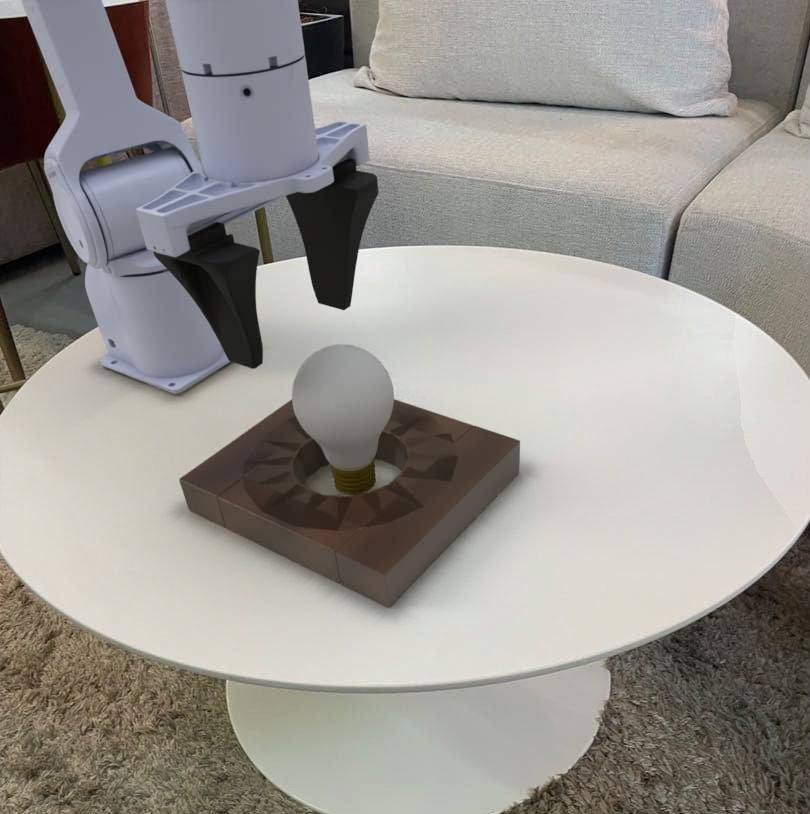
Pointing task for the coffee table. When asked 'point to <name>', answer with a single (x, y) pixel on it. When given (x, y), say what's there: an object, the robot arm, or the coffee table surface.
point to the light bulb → (345, 410)
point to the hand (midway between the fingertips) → (292, 332)
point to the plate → (356, 496)
